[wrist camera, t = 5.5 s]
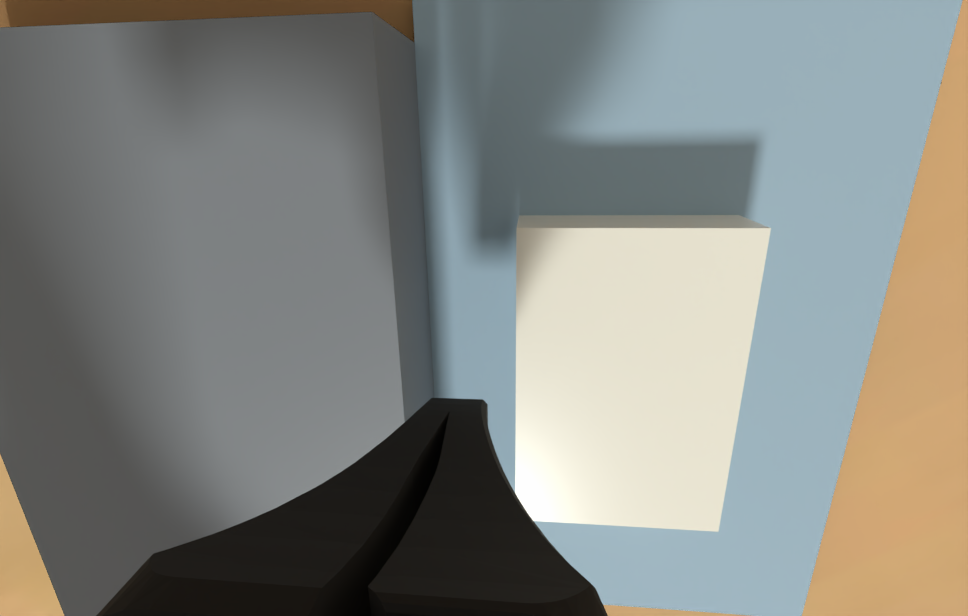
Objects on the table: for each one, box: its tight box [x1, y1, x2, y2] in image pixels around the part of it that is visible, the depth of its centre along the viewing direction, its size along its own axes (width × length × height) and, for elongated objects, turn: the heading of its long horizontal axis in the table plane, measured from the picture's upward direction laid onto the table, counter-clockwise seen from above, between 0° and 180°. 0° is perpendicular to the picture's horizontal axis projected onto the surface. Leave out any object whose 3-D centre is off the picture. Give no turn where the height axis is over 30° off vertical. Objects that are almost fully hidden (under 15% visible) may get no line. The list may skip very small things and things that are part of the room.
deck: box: [0, 12, 434, 616], centre depth 15 cm, size 18×12×4 cm, turn 1°
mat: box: [412, 0, 962, 616], centre depth 16 cm, size 20×13×1 cm, turn 1°
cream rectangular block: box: [515, 215, 771, 532], centre depth 15 cm, size 9×6×2 cm, turn 1°
